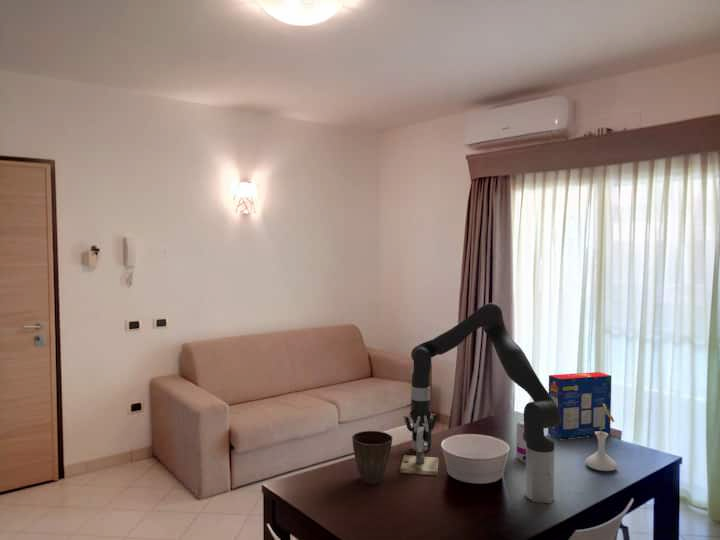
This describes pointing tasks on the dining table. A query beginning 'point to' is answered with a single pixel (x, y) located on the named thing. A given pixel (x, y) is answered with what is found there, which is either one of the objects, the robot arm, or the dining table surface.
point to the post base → (419, 464)
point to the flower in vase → (602, 451)
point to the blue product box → (580, 403)
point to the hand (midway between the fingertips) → (420, 440)
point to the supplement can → (521, 442)
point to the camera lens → (428, 434)
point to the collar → (420, 441)
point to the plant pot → (372, 454)
